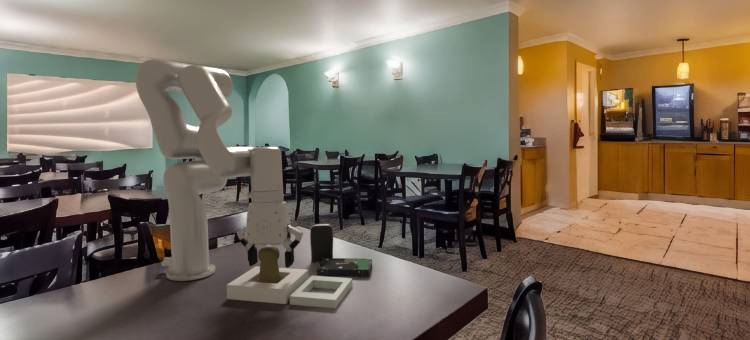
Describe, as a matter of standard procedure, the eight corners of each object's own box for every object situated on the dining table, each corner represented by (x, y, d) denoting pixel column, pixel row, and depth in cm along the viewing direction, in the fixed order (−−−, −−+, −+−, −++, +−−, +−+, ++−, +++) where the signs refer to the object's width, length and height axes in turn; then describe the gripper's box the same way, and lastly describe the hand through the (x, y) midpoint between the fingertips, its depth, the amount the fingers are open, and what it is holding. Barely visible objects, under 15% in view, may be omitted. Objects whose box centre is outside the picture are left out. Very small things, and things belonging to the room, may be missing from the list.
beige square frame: (227, 299, 98) (226, 284, 98) (256, 278, 112) (256, 266, 111) (290, 304, 95) (289, 289, 94) (312, 282, 108) (311, 269, 108)
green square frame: (290, 304, 95) (289, 296, 94) (312, 282, 108) (311, 275, 108) (335, 308, 92) (335, 299, 92) (352, 285, 106) (352, 278, 106)
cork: (263, 285, 107) (262, 244, 106) (285, 286, 106) (284, 244, 105) (253, 294, 101) (251, 250, 100) (277, 295, 100) (275, 251, 99)
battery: (332, 257, 130) (332, 222, 129) (333, 261, 126) (333, 224, 125) (310, 259, 129) (309, 223, 128) (310, 262, 125) (309, 225, 124)
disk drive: (316, 279, 113) (370, 279, 112) (316, 269, 113) (370, 269, 112) (323, 266, 123) (372, 266, 123) (322, 257, 123) (372, 257, 122)
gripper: (227, 199, 99) (231, 268, 101) (294, 199, 96) (297, 271, 97) (243, 194, 107) (247, 259, 108) (306, 194, 103) (309, 261, 104)
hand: (271, 265), depth 102 cm, fingers open, 9 cm apart
